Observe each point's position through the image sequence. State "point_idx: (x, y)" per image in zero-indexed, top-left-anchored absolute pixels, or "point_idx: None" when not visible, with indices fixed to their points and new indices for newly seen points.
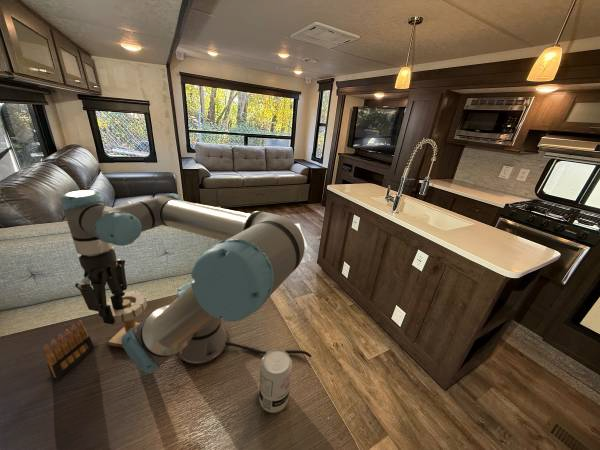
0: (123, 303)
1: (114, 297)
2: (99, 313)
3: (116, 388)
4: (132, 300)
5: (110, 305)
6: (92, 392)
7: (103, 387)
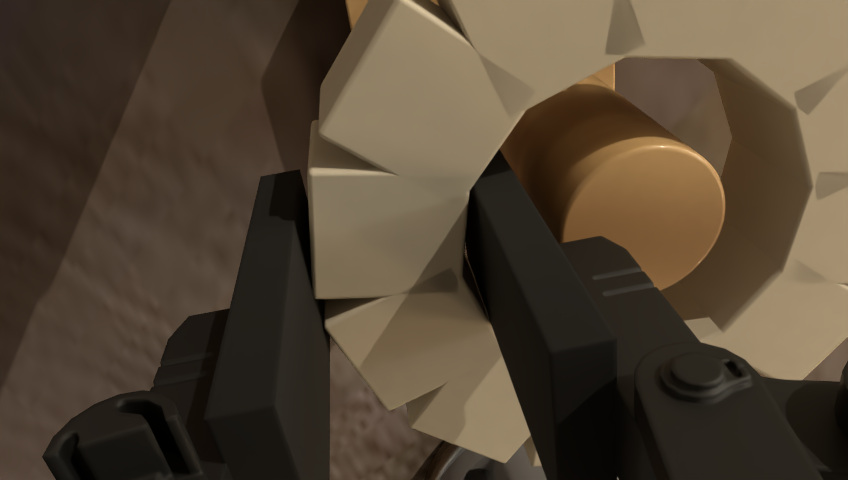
0: (616, 238)
1: (561, 439)
2: (159, 391)
3: (128, 310)
4: (754, 154)
5: (511, 91)
6: (23, 212)
7: (84, 241)
